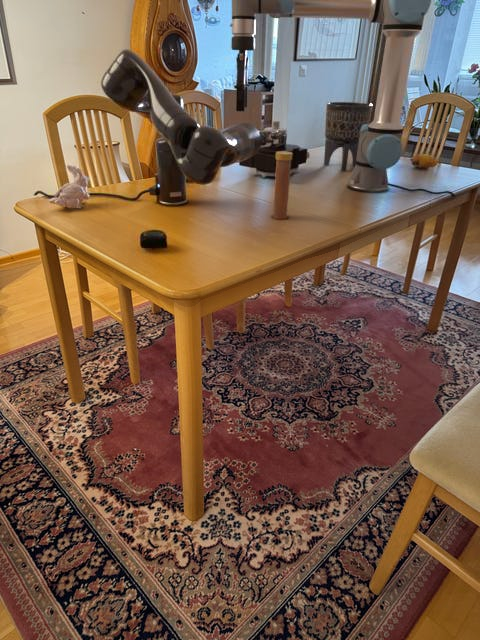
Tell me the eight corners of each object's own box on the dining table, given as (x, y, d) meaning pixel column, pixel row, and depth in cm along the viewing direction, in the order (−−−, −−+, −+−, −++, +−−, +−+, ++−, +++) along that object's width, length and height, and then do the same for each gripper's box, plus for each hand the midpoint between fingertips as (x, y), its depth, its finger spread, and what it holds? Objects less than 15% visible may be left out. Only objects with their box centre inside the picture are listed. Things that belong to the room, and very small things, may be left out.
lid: (274, 160, 132) (275, 153, 131) (276, 157, 136) (276, 150, 135) (291, 161, 132) (292, 154, 131) (292, 158, 136) (292, 151, 135)
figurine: (99, 203, 151) (94, 164, 145) (61, 214, 140) (53, 172, 134) (83, 199, 155) (77, 161, 149) (45, 209, 144) (37, 168, 138)
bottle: (272, 218, 141) (276, 155, 132) (273, 214, 145) (277, 152, 135) (286, 219, 141) (290, 156, 131) (287, 215, 144) (291, 153, 135)
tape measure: (140, 252, 115) (139, 238, 113) (141, 242, 120) (140, 229, 119) (167, 251, 116) (166, 237, 114) (167, 241, 121) (166, 228, 120)
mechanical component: (240, 120, 182) (283, 115, 202) (239, 174, 192) (280, 164, 212) (283, 126, 170) (325, 120, 190) (280, 183, 180) (320, 171, 200)
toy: (412, 161, 206) (406, 154, 219) (414, 175, 209) (408, 167, 222) (438, 153, 203) (431, 147, 216) (440, 167, 206) (432, 160, 219)
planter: (313, 167, 208) (319, 103, 195) (331, 160, 222) (338, 101, 209) (353, 173, 199) (362, 107, 185) (369, 166, 213) (379, 104, 199)
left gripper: (209, 158, 103) (237, 147, 117) (267, 164, 99) (290, 152, 112) (208, 122, 100) (237, 116, 113) (269, 126, 95) (292, 119, 108)
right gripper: (234, 37, 155) (234, 105, 166) (227, 34, 134) (227, 112, 144) (256, 37, 155) (254, 106, 165) (253, 34, 133) (250, 113, 144)
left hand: (263, 134), depth 112 cm, fingers open, 8 cm apart
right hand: (241, 109), depth 155 cm, fingers open, 13 cm apart
